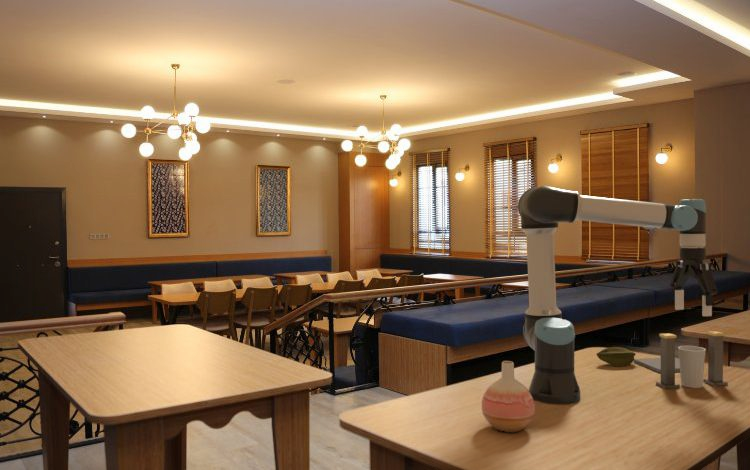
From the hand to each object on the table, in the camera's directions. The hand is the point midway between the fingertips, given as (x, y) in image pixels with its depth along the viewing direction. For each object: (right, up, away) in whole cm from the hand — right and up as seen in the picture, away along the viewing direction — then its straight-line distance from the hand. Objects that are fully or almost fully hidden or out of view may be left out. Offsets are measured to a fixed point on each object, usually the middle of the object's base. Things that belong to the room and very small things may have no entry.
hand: (692, 312), depth 202 cm
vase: (-68, -26, -38) cm, 82 cm away
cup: (0, -24, +1) cm, 24 cm away
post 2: (+8, -23, +2) cm, 25 cm away
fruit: (-13, -23, +29) cm, 39 cm away
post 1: (-8, -24, -1) cm, 25 cm away
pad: (+3, -23, +26) cm, 34 cm away
